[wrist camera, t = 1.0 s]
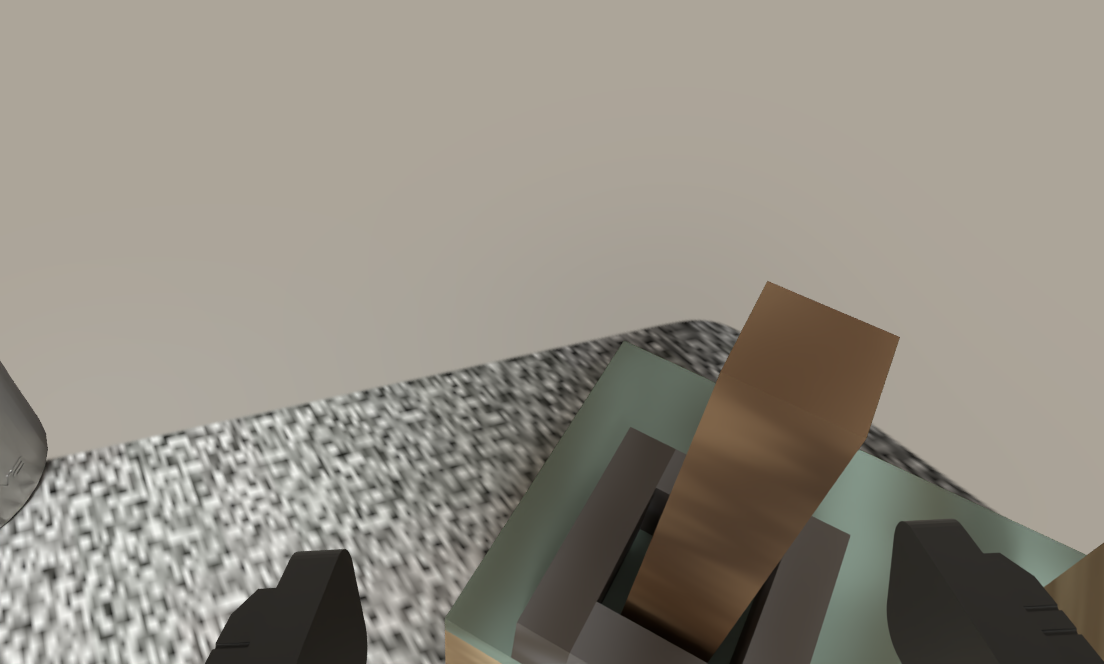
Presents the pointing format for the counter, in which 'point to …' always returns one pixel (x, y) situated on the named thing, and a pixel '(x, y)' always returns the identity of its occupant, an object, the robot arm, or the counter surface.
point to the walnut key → (759, 464)
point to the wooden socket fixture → (635, 510)
